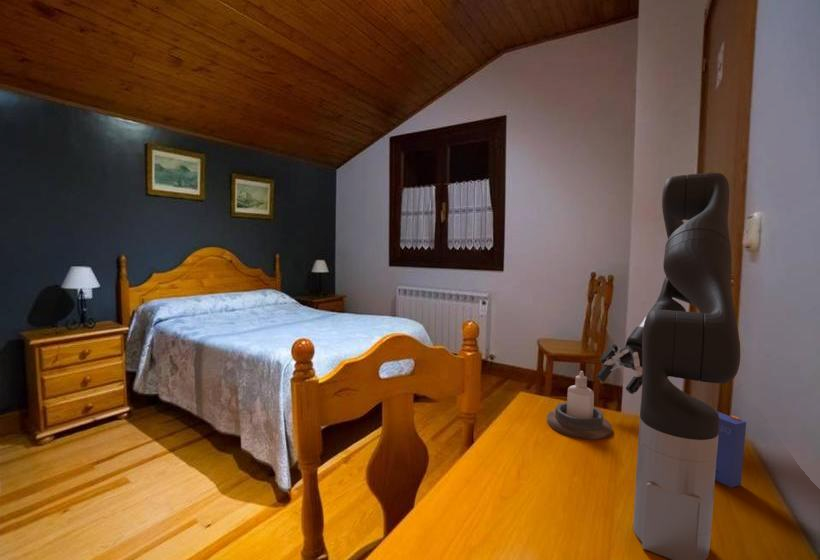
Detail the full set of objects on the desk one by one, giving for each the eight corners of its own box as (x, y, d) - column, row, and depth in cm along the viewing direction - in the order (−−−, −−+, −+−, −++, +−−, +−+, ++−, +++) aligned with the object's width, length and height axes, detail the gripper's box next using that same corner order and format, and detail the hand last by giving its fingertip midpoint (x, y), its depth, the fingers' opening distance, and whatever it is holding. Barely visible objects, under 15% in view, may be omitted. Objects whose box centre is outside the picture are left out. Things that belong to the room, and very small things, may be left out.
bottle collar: (606, 446, 84) (606, 430, 83) (539, 428, 92) (540, 413, 91) (615, 422, 95) (616, 408, 95) (555, 408, 103) (556, 395, 103)
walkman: (741, 485, 70) (746, 420, 69) (730, 488, 70) (736, 422, 68) (696, 462, 78) (700, 403, 77) (686, 464, 77) (690, 405, 76)
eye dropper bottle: (580, 427, 90) (582, 376, 89) (563, 417, 95) (565, 368, 94) (595, 424, 92) (598, 374, 90) (578, 414, 97) (580, 366, 96)
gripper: (619, 320, 105) (583, 367, 102) (671, 331, 91) (631, 386, 89) (633, 338, 107) (598, 384, 104) (686, 352, 94) (647, 405, 91)
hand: (613, 385), depth 96 cm, fingers open, 8 cm apart
